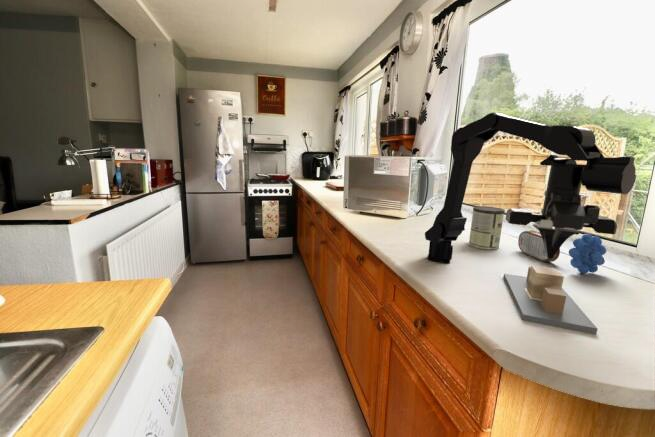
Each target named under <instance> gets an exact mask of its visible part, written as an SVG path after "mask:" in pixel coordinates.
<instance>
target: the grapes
mask: <svg viewBox="0 0 655 437" xmlns="http://www.w3.org/2000/svg"><path fill="white" fill-rule="evenodd" d="M572 244H573V247H571V248H570V249H568V254H569V257H571V259H570V262H569V263H570V265H571V266H572V267H573V268H574V269H577V271H578V272H579V273H580V274H588V273H591V274H592V273H593V274H594V273H596V272H598V269H599V267H598V266H603V265H604V264H605V262H606V260H605V258H604V255H606V254H607V248H606V247H605V245H603V242H602V239H601V237H599V236H596V235H594V236H593V235H592V234H590V233H584V234H582V235H581V238H579V237H576V238H575V239H573V242H572Z"/></svg>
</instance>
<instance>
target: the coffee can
mask: <svg viewBox="0 0 655 437" xmlns="http://www.w3.org/2000/svg"><path fill="white" fill-rule="evenodd" d="M472 208H473V209H472V210H473V211H472V217H471V223H470V225H471V227H470V232H469V240H468V245H469V246H471V247H474V248H476V249H480V250H481V249H483V250H492V251H493V250H499V248H500V241H501V235H502V229H503V222H504V216H505V213H506V210H505V209H504V208H502V207H501V208H500V207H494V206H485V205H482V206H479V205H478V206H473V207H472Z"/></svg>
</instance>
